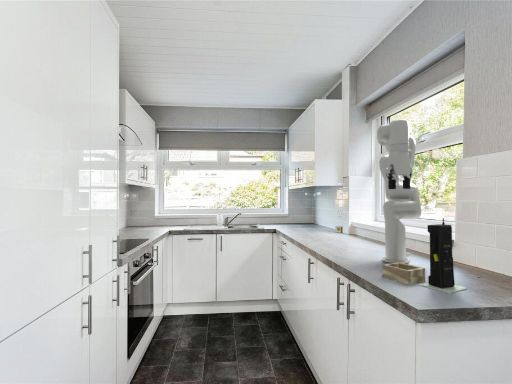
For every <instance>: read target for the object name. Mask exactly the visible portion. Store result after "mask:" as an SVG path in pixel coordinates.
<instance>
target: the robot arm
mask: <svg viewBox="0 0 512 384" xmlns="http://www.w3.org/2000/svg"><path fill="white" fill-rule="evenodd" d="M412 130H413V129H412V126H411V125H410V124H409V121H408V120H407V119H395V120H391V121H390V123H389V124H387V123H386V124H381V125H379V126H378V127H377V131H376V140H377V143H378V145H381V146H383V147H384V149H385V150H386V151H387V152H388V154H386V155H383V156H381V157H380V158H379V161H378V165H379V166H378V167H379V170H380V174H381V176H382V178H383V180H384V192H385V198H386V200H387V201H385V202H384V203H383V206H382V211H383V217H384V234H385V235H384V241H385V243H384V245H385V247H384V248H385V252H384V253H385V256H383V257H382V261H383V262H385V263H387V264H391V263H397V262H399V263H404V264H409V263H410V259H408V257H411V255H412V254H411V252H407V250H406V249H407V247H406V246H407V245H406V227H405V224H404V223H403V222H402V221H401V220H417V219H419V218H420V217H421V216H422V205H421V204H422V203H421V199H420V198H421V197H420V193H419V192H420V191H419V187H418V186H417V185H416V184H414V183H411V180H412V176H413V172H414V169H413V167H414V165H415V157H416V145H417V144H416V143H417V142H416V140H415V137H413V136H412V132H413V131H412Z"/></svg>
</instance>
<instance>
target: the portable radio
mask: <svg viewBox="0 0 512 384" xmlns="http://www.w3.org/2000/svg"><path fill="white" fill-rule="evenodd" d="M427 232H428V233H429V276H428V277H427V279H428V280H427V282H428V283H429V284H430V285H432V286H435V287H438V288H448V287H454V285H456V284H455V282H456V281H455V272H454V257H453V226H452V225H451V224H446V223H445V218H444V217H442V224H428V225H427Z"/></svg>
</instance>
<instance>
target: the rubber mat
mask: <svg viewBox="0 0 512 384" xmlns="http://www.w3.org/2000/svg"><path fill="white" fill-rule="evenodd" d="M418 285H419V287H420V286H421V287H424V288H428V289H431V290H435V291H438V292H441V293H444V294H448V295H450V294H453V293H458V292H462V291H465V290H468V287H464V286H460V285H457V284H455V285H454V287H448V288H438V287H435V286H432V285H430V284H429V283H428V281H427V282H423V283H419V284H418Z"/></svg>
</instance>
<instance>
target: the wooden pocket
mask: <svg viewBox="0 0 512 384" xmlns="http://www.w3.org/2000/svg"><path fill="white" fill-rule="evenodd" d="M381 266H382V268H381V269H382V271H381V273H382V276H381V277H383V278H385V279H388V280H392V281H396V282H398V283H399V282H400V283H403V284H406V285H413V284H416V283H421V282H425V281H426V268H425V267H421V266H417V265H413V264H409V263H406V264H404V263H399V262H397V263H386V264H382V265H381Z"/></svg>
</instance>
